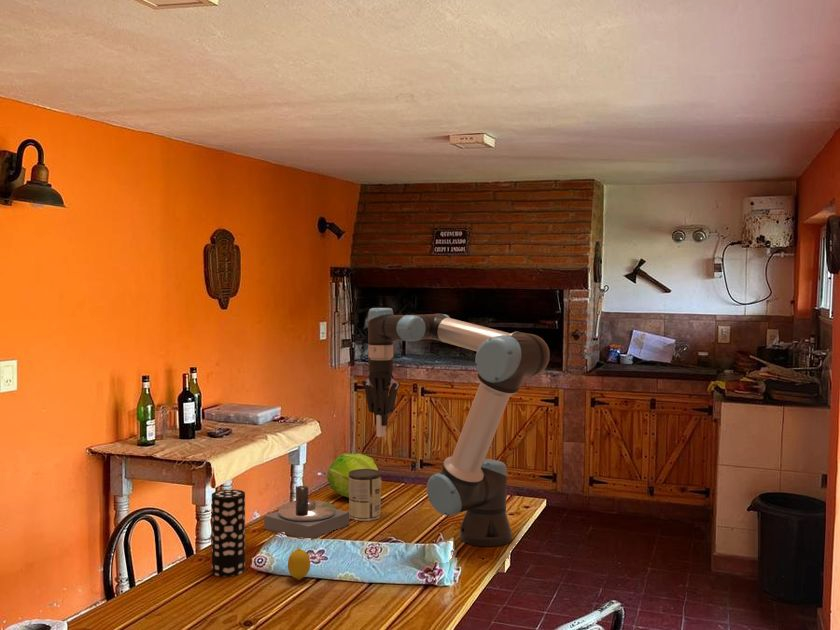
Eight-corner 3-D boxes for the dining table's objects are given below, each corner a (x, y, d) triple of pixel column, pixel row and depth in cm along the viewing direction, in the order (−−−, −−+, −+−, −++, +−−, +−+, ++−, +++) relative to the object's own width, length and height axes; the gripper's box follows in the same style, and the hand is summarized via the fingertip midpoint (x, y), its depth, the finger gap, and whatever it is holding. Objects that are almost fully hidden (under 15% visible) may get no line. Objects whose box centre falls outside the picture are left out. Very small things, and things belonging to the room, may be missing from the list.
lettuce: (358, 514, 265) (358, 470, 262) (318, 496, 278) (317, 455, 275) (393, 498, 278) (393, 457, 275) (353, 482, 291) (353, 442, 288)
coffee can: (351, 511, 261) (351, 468, 260) (383, 512, 260) (383, 469, 259) (345, 520, 251) (345, 475, 250) (378, 521, 250) (378, 476, 249)
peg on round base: (287, 504, 253) (287, 474, 252) (340, 506, 251) (340, 475, 251) (271, 520, 236) (271, 488, 236) (328, 522, 234) (329, 490, 234)
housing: (349, 525, 246) (349, 512, 246) (308, 540, 231) (308, 526, 231) (305, 514, 256) (305, 502, 256) (264, 528, 242) (264, 515, 241)
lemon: (285, 577, 202) (285, 546, 202) (307, 575, 204) (307, 543, 204) (290, 585, 197) (290, 553, 197) (312, 582, 199) (312, 550, 199)
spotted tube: (251, 568, 208) (251, 492, 207) (228, 579, 201) (228, 499, 200) (228, 562, 212) (228, 487, 211) (204, 572, 205) (204, 495, 204)
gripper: (356, 358, 244) (356, 436, 245) (391, 360, 237) (391, 440, 238) (370, 356, 251) (371, 432, 251) (405, 358, 244) (405, 436, 244)
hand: (381, 436), depth 245 cm, fingers closed
